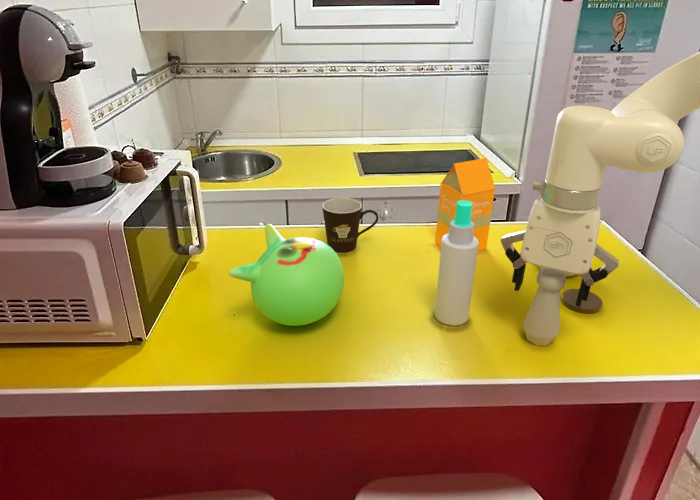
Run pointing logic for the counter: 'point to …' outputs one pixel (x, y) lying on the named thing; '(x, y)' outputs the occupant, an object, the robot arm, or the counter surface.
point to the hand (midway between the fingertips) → (547, 294)
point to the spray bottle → (457, 268)
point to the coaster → (586, 307)
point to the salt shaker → (545, 308)
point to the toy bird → (294, 279)
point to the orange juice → (467, 198)
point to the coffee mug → (343, 223)
